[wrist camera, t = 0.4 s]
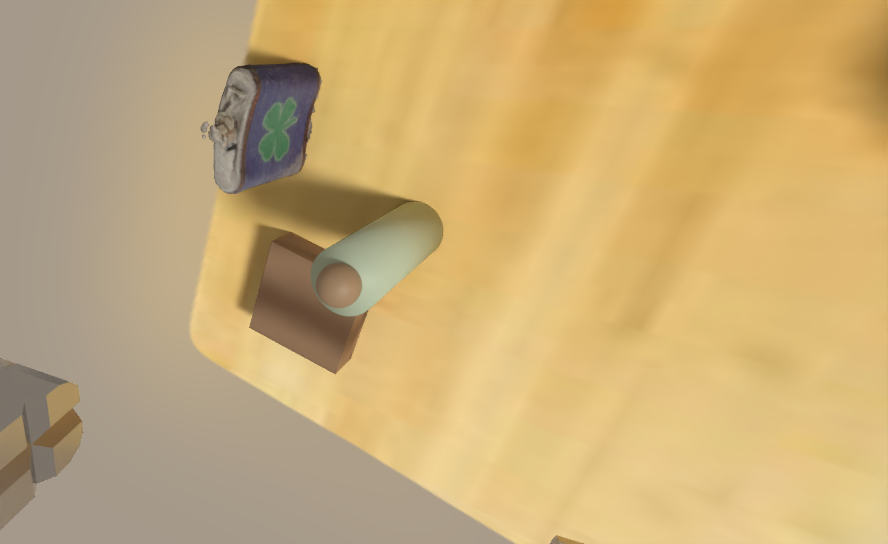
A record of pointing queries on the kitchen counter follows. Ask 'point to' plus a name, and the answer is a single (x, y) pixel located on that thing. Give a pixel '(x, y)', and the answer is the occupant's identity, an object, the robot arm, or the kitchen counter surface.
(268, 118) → the flask
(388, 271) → the pepper mill
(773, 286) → the kitchen counter surface
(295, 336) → the plinth
